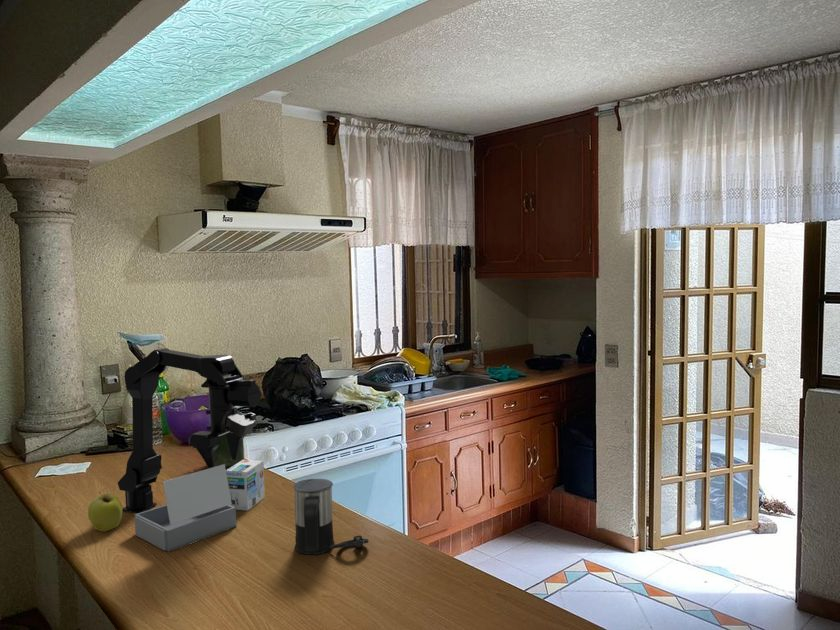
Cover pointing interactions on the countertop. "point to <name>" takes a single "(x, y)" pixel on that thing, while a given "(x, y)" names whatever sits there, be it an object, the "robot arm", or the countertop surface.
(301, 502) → the milk frother
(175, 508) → the grey box lid
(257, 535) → the countertop surface
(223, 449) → the green bottle
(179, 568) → the countertop surface
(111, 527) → the apple
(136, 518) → the grey shallow open box
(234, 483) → the light bulb box
